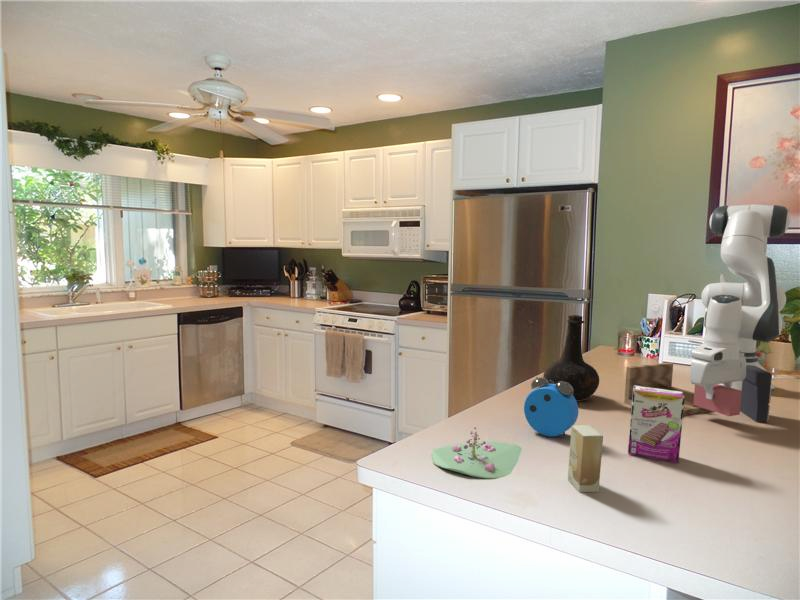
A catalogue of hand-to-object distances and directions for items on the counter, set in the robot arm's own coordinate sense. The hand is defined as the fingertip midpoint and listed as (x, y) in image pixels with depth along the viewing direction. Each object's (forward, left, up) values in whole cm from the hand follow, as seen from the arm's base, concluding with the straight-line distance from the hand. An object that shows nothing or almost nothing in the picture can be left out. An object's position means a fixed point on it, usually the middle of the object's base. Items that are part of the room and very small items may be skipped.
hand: (716, 397), depth 150 cm
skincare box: (+67, +17, -8) cm, 70 cm away
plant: (+79, -3, -8) cm, 80 cm away
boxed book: (0, 0, -4) cm, 4 cm away
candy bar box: (+39, +11, -8) cm, 42 cm away
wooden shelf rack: (0, -16, -7) cm, 17 cm away
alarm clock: (+53, -10, -8) cm, 55 cm away
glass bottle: (+23, -35, -8) cm, 43 cm away
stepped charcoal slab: (-16, +1, -8) cm, 18 cm away
